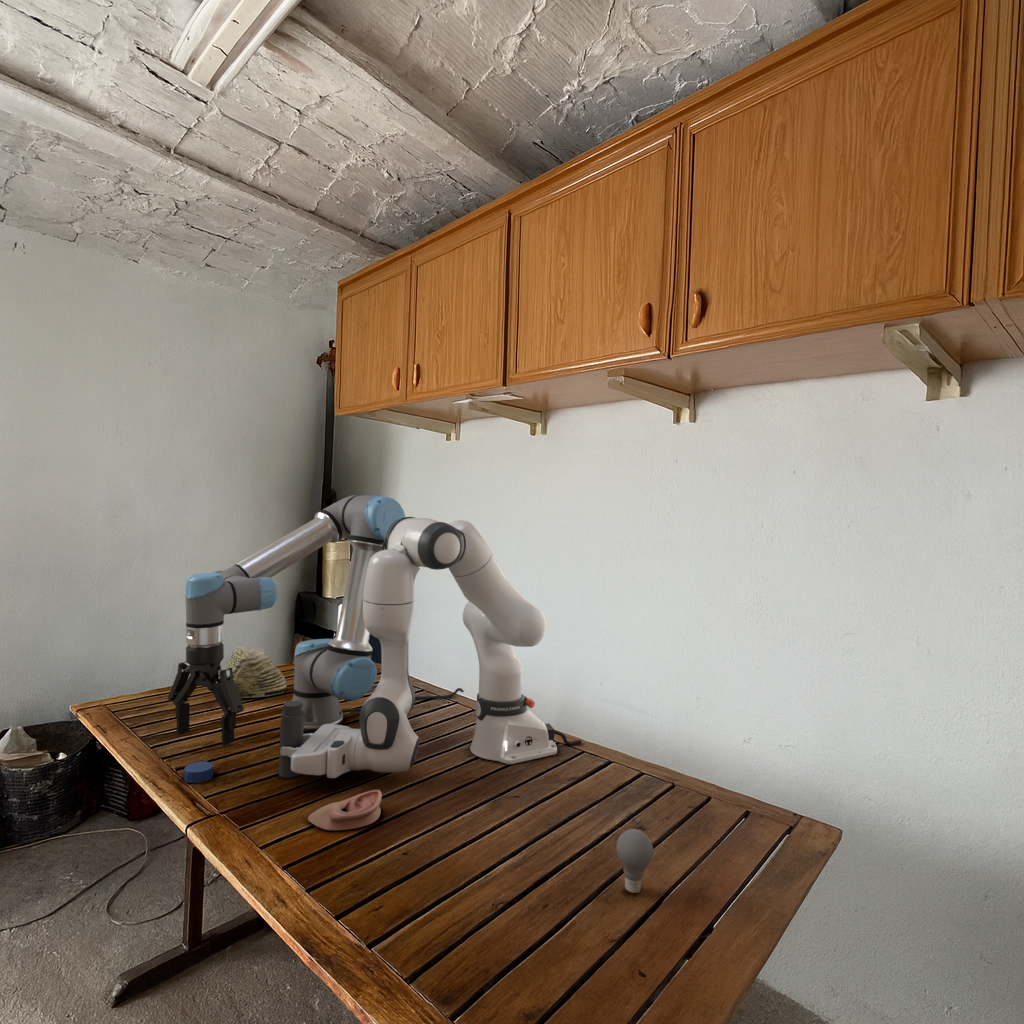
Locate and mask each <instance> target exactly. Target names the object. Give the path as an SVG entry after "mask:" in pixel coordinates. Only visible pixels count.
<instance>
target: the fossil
mask: <svg viewBox="0 0 1024 1024" xmlns="http://www.w3.org/2000/svg"><path fill="white" fill-rule="evenodd" d="M227 668H232V671H233V679H234V682H235V685H236V687H237V690H238V693H239V696H240V699H250V698H264V697H271V696H275V695H281V694H284V693H285V691H286V689H287V687H288V686H287V680H286V678H285V676H284V674H283V673H282V672H281V669H279V668H278V667H277V665H276V663H275V662H274V660H273V659H272V658H271V657H270V656H269V655H268V654H267V653H266V652H265V650H264V649H263V648H260V647H258V648H251V647H247V646H246V647H245V646H238V647H237V648H236V649H235V650H233V651H232V653H231V656H230V657H229V659H228V660H227V663H226V666H225V668H224V669H227Z"/></svg>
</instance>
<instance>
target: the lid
mask: <svg viewBox="0 0 1024 1024" xmlns="http://www.w3.org/2000/svg"><path fill="white" fill-rule="evenodd" d="M183 770H184V771H183V780H184V782H186V783H188V784H200V783H204V782H207V781H209V780H211V779H212V778H213V776H214V770H215V769H214V764H213V762H211V761H196V762H191V763H189V764H187V765H186V766H185V767H184V769H183Z"/></svg>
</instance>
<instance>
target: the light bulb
mask: <svg viewBox="0 0 1024 1024" xmlns="http://www.w3.org/2000/svg"><path fill="white" fill-rule="evenodd" d="M615 849H616V854H617V857H618V859H619V861H620V863H621V865H622V867H623V873H624V874H623V875H624V876H625V878H624V888H625V890H627V891H628V892H630V893H634V894H635V893H639V892H640V891H641V889H642V887H641V886H642V879H643V877H644V875H645V871H646V868H647V867H648V866H649V864H650V863H651V861H652V859H653V855H654V847H653V843H652V841H651V838H649V836H648V835H647V834H646V833H645V832H643V831H642V830H641V829H636V828H629V829H627V830H625V831H623V832H622V833H621V834H620V835H619V837H618V839H617V841H616V847H615Z"/></svg>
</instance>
